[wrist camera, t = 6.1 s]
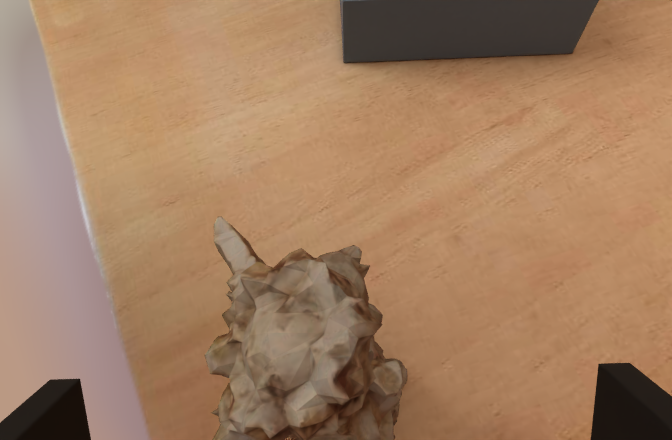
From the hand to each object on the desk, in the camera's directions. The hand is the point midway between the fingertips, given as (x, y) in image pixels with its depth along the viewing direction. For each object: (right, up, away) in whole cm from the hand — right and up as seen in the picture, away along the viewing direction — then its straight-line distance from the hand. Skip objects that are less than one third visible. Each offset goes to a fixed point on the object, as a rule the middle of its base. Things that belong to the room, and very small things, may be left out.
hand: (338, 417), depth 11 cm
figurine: (0, -4, +9) cm, 10 cm away
